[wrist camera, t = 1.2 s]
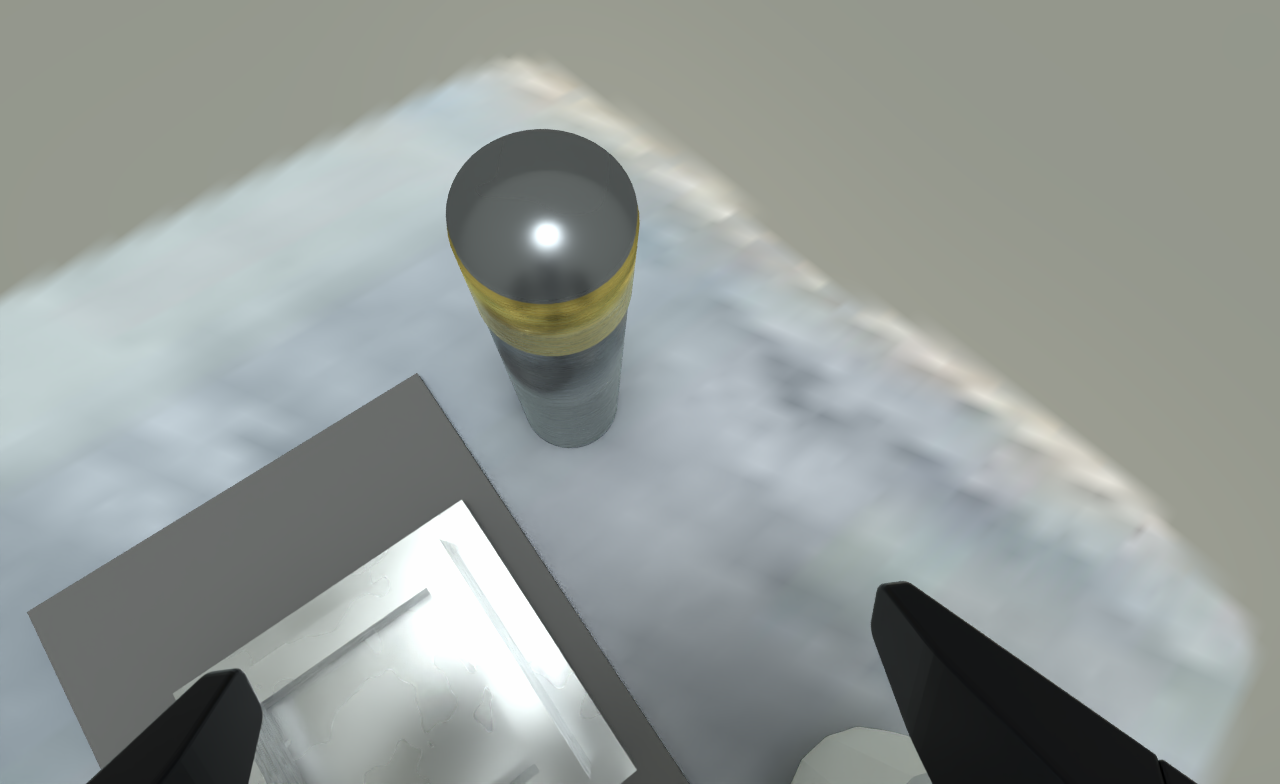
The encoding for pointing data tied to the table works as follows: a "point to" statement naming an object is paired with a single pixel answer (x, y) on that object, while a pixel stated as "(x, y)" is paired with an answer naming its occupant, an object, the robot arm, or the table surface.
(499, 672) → the silver square tray
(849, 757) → the white cylinder
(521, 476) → the table surface
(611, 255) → the grey yellow-banded cylinder
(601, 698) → the mat
